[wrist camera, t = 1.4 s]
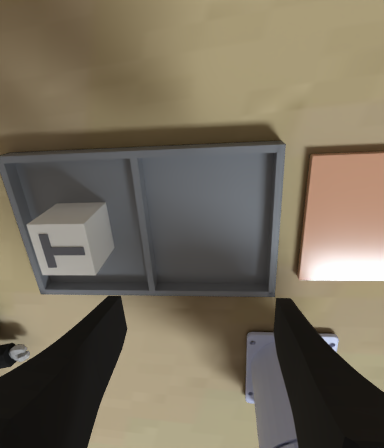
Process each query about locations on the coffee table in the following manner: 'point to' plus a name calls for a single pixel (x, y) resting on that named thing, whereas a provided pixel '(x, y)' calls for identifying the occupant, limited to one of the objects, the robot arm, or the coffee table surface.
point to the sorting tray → (162, 215)
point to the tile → (343, 218)
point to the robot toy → (12, 354)
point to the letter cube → (72, 238)
